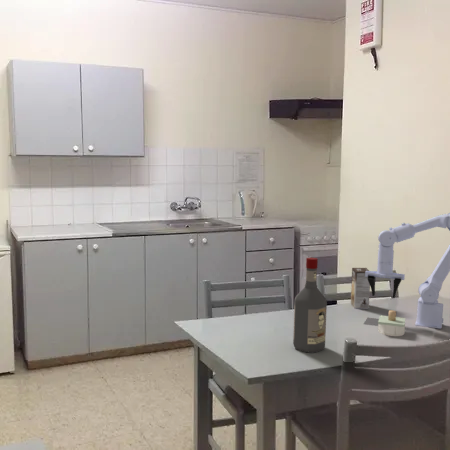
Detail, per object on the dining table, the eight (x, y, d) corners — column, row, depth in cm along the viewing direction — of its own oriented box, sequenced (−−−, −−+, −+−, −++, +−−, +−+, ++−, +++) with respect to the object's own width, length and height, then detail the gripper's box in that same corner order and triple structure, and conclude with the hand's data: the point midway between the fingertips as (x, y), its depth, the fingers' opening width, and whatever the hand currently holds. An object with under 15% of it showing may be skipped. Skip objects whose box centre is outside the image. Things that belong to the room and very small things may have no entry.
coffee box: (349, 303, 248) (351, 267, 246) (364, 303, 248) (366, 267, 246) (354, 309, 239) (355, 271, 237) (369, 309, 239) (371, 271, 237)
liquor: (289, 347, 189) (292, 258, 185) (306, 341, 195) (309, 255, 192) (311, 354, 182) (314, 262, 179) (328, 348, 189) (331, 258, 185)
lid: (405, 320, 209) (405, 309, 208) (404, 326, 201) (405, 315, 200) (380, 317, 212) (380, 307, 211) (378, 324, 203) (378, 313, 203)
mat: (393, 321, 221) (393, 320, 221) (390, 328, 212) (390, 327, 212) (367, 318, 225) (367, 317, 225) (363, 324, 216) (363, 324, 216)
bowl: (405, 331, 209) (406, 320, 208) (402, 338, 201) (403, 327, 200) (380, 328, 212) (380, 317, 212) (376, 334, 204) (377, 323, 204)
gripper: (364, 261, 218) (362, 296, 219) (404, 265, 212) (402, 300, 214) (367, 258, 224) (365, 292, 226) (405, 262, 218) (404, 296, 220)
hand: (383, 296), depth 220 cm, fingers open, 7 cm apart
